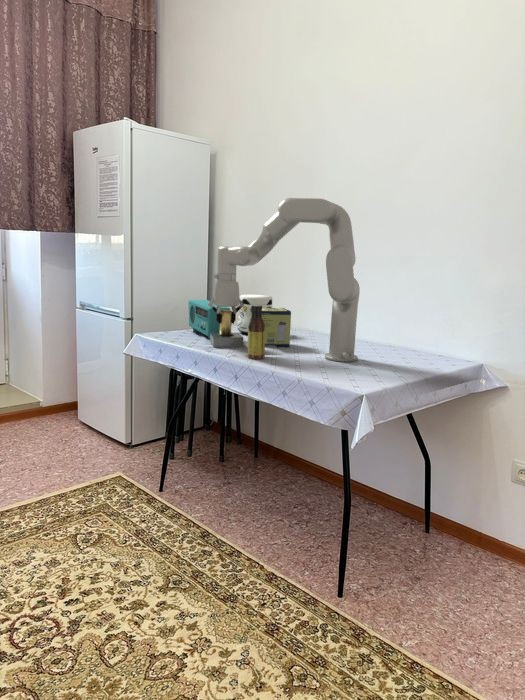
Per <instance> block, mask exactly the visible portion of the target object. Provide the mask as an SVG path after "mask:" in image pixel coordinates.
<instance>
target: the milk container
mask: <svg viewBox="0 0 525 700" xmlns="http://www.w3.org/2000/svg"><path fill="white" fill-rule="evenodd" d="M239 298H240V300H241V301H242V302H243V304H244V307H242V308H241V309H240V310H239V311H238V312H239V315H238V317H237V320H236V321H237V322H236V323H237V324H236V325H237V330H238V331H239V333H242V334H247V335H248V326H249V323H250V308H251V305H262V308H273V296H271V295H266V294H241V295H240V294H239Z"/></svg>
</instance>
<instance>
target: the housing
mask: <svg viewBox="0 0 525 700" xmlns="http://www.w3.org/2000/svg"><path fill="white" fill-rule="evenodd" d="M209 343H210V344H211V346H212V348H214V349H215V348H220V349H221V348H223V349H224V348H226V349H227V348H240V349H241V348H244V336H243V335H241V334H240V332H231V335H230V336H223V335H219V333H210V339H209Z"/></svg>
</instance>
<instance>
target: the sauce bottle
mask: <svg viewBox="0 0 525 700" xmlns="http://www.w3.org/2000/svg"><path fill="white" fill-rule="evenodd" d="M251 309H252V315H251V320H250V323H249V326H248V334H247V357H248V358H249V359H252V360H262V359H264V358H265V353H266V352H265V350H266V349H265V348H266V345H265V324H264V321H263V319H262V305H251Z"/></svg>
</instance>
